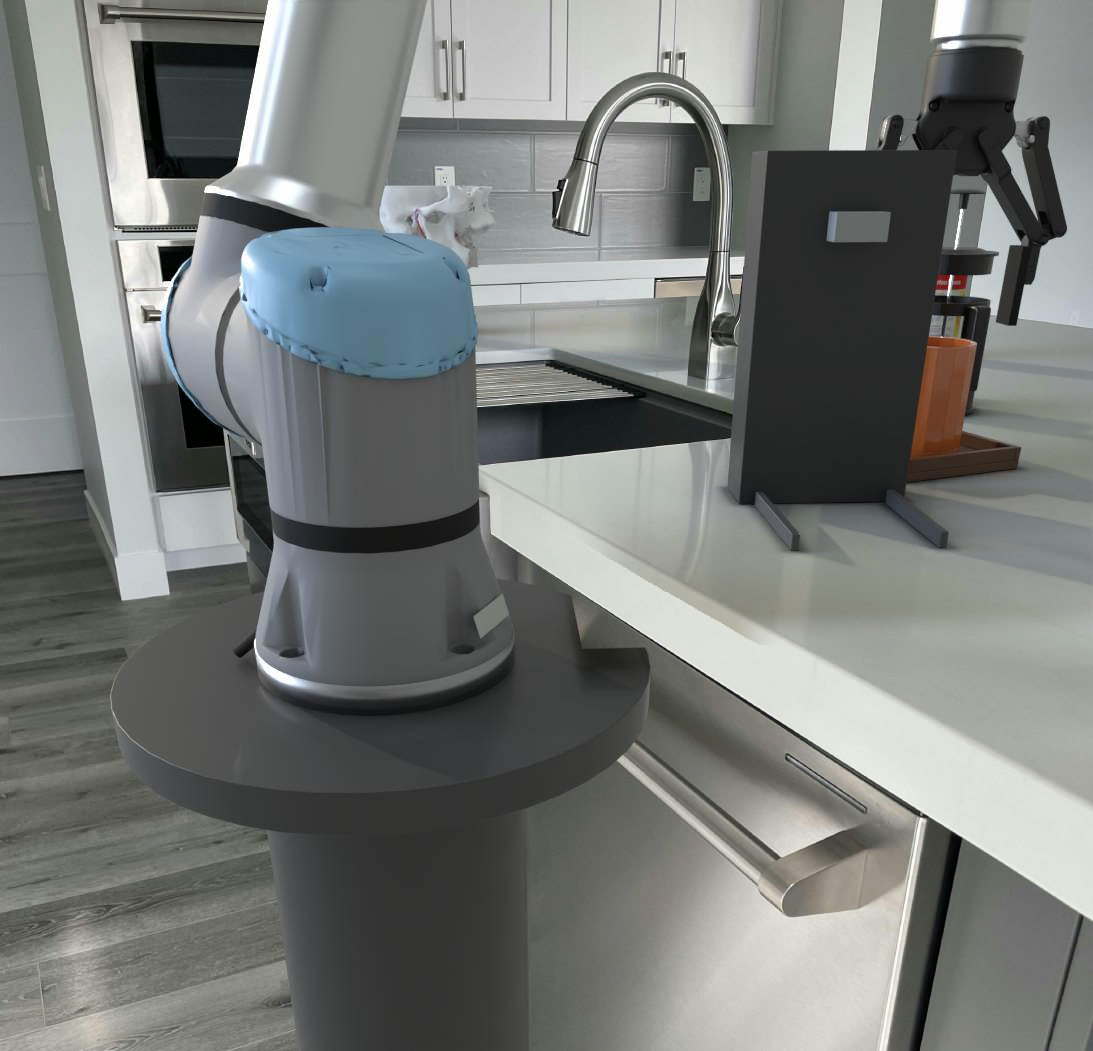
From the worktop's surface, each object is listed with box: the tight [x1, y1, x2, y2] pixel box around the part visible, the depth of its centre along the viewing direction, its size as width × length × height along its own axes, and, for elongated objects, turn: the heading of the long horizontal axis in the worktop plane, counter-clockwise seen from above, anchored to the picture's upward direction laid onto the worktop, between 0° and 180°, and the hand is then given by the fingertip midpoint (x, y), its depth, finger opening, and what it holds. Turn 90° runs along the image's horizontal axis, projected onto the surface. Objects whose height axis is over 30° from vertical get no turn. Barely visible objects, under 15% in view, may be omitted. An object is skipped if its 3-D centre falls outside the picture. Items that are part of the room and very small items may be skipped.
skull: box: [379, 185, 498, 270], centre depth 181 cm, size 25×19×23 cm
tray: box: [907, 430, 1022, 483], centre depth 103 cm, size 13×13×2 cm
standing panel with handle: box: [726, 149, 957, 551], centre depth 81 cm, size 14×18×26 cm
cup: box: [910, 336, 977, 458], centre depth 101 cm, size 8×8×10 cm
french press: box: [932, 188, 1000, 416], centre depth 120 cm, size 12×9×23 cm
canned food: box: [929, 275, 968, 338], centre depth 159 cm, size 8×8×12 cm
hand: (932, 324), depth 98 cm, fingers open, 13 cm apart
